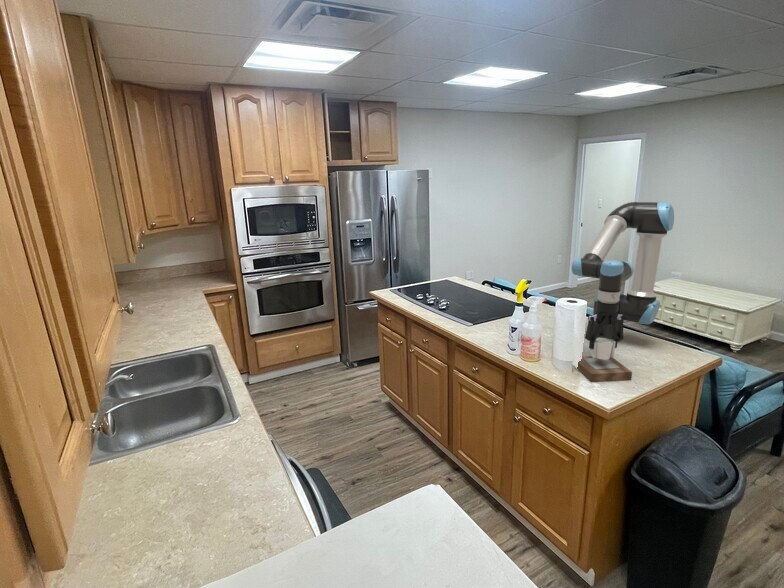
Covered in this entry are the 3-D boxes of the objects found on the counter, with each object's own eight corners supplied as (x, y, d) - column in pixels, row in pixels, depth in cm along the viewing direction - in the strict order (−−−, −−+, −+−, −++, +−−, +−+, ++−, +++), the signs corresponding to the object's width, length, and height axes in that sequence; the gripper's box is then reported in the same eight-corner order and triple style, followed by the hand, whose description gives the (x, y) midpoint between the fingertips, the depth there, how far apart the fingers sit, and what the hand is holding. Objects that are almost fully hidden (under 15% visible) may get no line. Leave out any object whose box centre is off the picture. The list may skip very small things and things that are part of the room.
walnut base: (608, 362, 178) (609, 353, 177) (631, 380, 163) (632, 370, 162) (571, 364, 177) (572, 355, 176) (590, 382, 162) (591, 372, 161)
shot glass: (594, 351, 173) (596, 335, 171) (613, 355, 169) (615, 339, 167) (590, 357, 168) (592, 341, 166) (609, 361, 163) (611, 345, 162)
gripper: (588, 304, 158) (582, 361, 164) (639, 302, 159) (631, 358, 165) (578, 299, 165) (573, 353, 171) (627, 297, 166) (620, 351, 172)
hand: (601, 355), depth 168 cm, fingers closed on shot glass, 7 cm apart
